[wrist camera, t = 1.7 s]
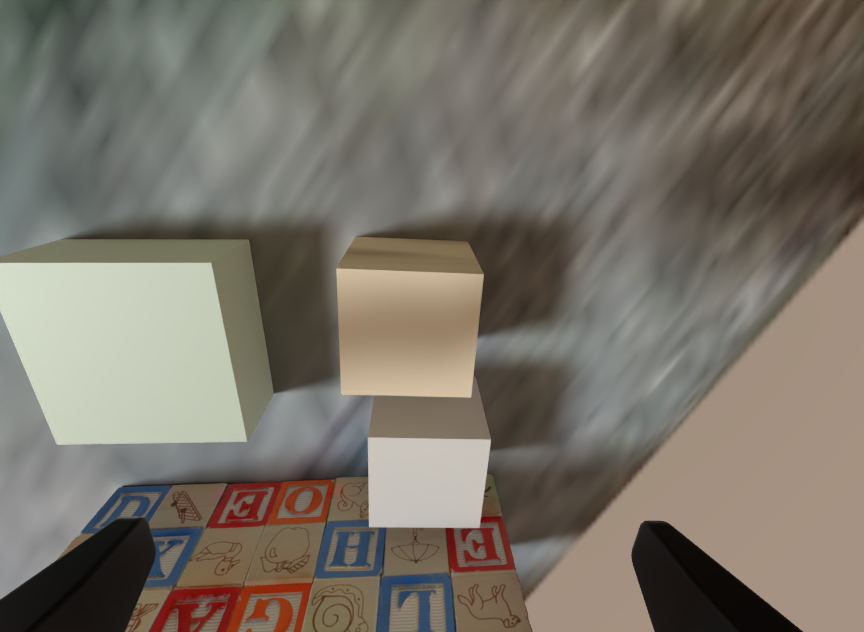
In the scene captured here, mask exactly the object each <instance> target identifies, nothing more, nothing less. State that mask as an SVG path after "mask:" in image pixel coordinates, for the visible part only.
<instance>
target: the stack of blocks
mask: <svg viewBox="0 0 864 632" xmlns="http://www.w3.org/2000/svg"><path fill="white" fill-rule="evenodd" d="M124 516H139V517H145V518H146V519H147V520H148V522H149V526H150V529H151V533H152V536H153V539H154V543H155V546H156V557H155V561H154V564H153V566H152V569H151V571H150V574H149V576H148V578H147V581H146V583H145V585H144V588H143V590H142V593H141V595H140V597H139V600H138V602H137V605H136V607H135V609H134V612H133V614H132V617H131V619H130V621H129V624H128V626H127V629H126V631H125V632H532V629H531V625H530V623H529V620H528V613H527V609H526V606H525V603H524V598H523V592H522V589H521V585H520V581H519V577H518V575H517V573H516V568H515V564H514V560H513V556H512V552H511V548H510V544H509V540H508V536H507V532H506V529H505V525H504V521H503V519H502V511H501V507H500V503H499V498H498V494H497V490H496V485H495V481H494V478H493V475H492V474H487V475H486V482H485V490H484V498H483V505H482V513H481V520H480V528H404V527H369V488H368V477H341V478H336V479H335V480H334V479H333V480H329V479H325V480H306V481H285V482H282V483H280V482H272V483H243V484H232V485H228V484H226V483H217V484H190V485H174V486H171V485H160V486H141V487H138V486H136V487H121V488H118V489H117V490H116V491H115V493H114V494H113V495H112V496H111V497H110V498H109V500H108V501H107V502H106V503H105V504H104V506H103V507H102V508H101V509H100V510H99V511H98V513H97V514H96V515H95V516H94V517H93V519H92V520H91V521H90V522H89V523H88V524H87V525H86V527H85V528H84V529H83V530H82V531H81V534H80V535H79V536H78V537H76V538H75V539H74V540H73V541H72V543H71V544H70V545H69V546H68V547H67V549H66V550H65V551H64V552H63V553H62V554H61V556H60V557H59V558H61V557H62V556H63V555H65V554H66V553H68V552H69V551H71V550H72V549H73V548H75V547H76V546H78V545H79V544H81V543H82V542H84V541H85V540H86V539H88V538H89V537H91V536H92V535H94V534H95V533H96V532H98V531H99V530H101V529H102V528H104V527H105V526H106V525H108V524H109V523H111V522H112V521H114V520H115V519H117V518H119V517H124ZM59 558H58V559H59ZM58 559H57V560H58Z"/></svg>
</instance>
